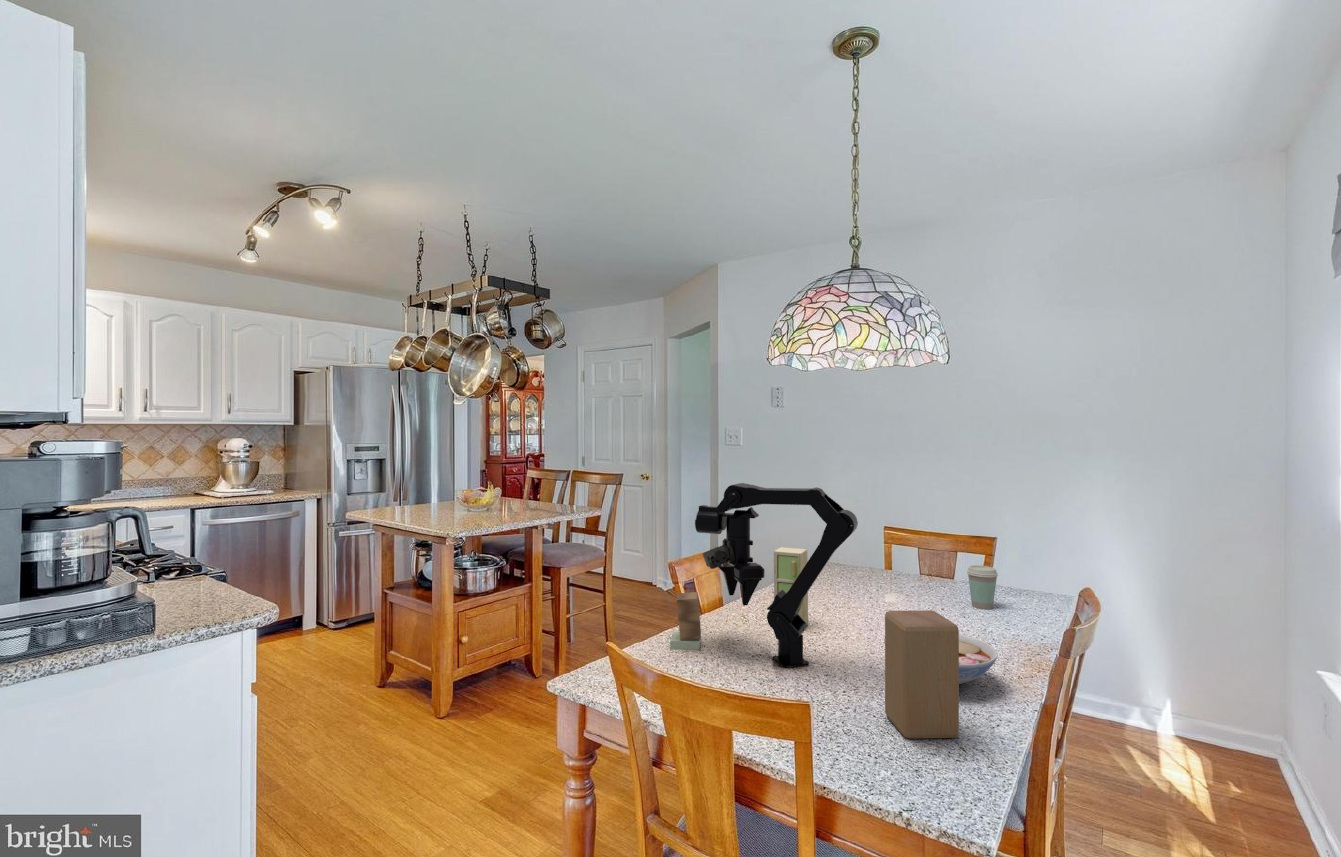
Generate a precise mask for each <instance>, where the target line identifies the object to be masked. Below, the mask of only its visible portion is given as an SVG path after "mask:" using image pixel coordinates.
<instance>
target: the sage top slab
mask: <svg viewBox="0 0 1341 857" xmlns="http://www.w3.org/2000/svg"><path fill="white" fill-rule="evenodd" d="M701 641H702V638H701V639H697V640H683V641H680V632H679V631H672V634H671V638H670V641H669V643H670V644H669V648H670V650H691V651H692V650H693V651H700V648H701Z"/></svg>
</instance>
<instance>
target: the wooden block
mask: <svg viewBox="0 0 1341 857" xmlns="http://www.w3.org/2000/svg"><path fill="white" fill-rule="evenodd" d="M959 634H960V630H959V627H958V625H957V624H955V622H953V621H951V620H949V619H947V618H946V617H944V616H943V615H941V614H940V613H939V612H937V611H935V610H928V609H925V610H888V611H886V612H885V614H884V639H885V643H884V714H885V715H886V717H887V719H889V721H890V722H891V723H892V724H893V725H894V726H895V727H896V729H897V730H898V731H899V732H900V734H902V736H903V738H906V739H950V738H951V739H956V738H958V737H959V735H960V684H959Z"/></svg>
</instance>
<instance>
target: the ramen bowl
mask: <svg viewBox="0 0 1341 857" xmlns="http://www.w3.org/2000/svg"><path fill="white" fill-rule="evenodd" d="M883 643H884V644H885V638H884V640H883ZM998 657H999V656H998V653H997V649H995V647H993V646H991V645H990V644H988V643H987V642H985V641H982V640H980V639H977V638H975V637H972V636H969V635H964V634H961V633H959V685H960V684H965V683H969V682H973V681H975V680H978V679H979V678H981V677H982V676H983V675H984V674H986V673H987V672H988V671H990V668H991V667H992V666H993V665H994V664H995V662H996V661H997V658H998Z"/></svg>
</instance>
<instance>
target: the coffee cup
mask: <svg viewBox="0 0 1341 857" xmlns="http://www.w3.org/2000/svg"><path fill="white" fill-rule="evenodd" d="M966 572H967V575H968V576H967V577H968V584H969V593H970V602H971V607H973V608H976V609H980V610H992V609H993V608H994V603H995V596H996V594H995V593H996V586H997V578H998V576H999V575H998V572H997V568H995V567H992V566H988V565H978V564H977V565H969V566H968V569H967V570H966Z"/></svg>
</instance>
